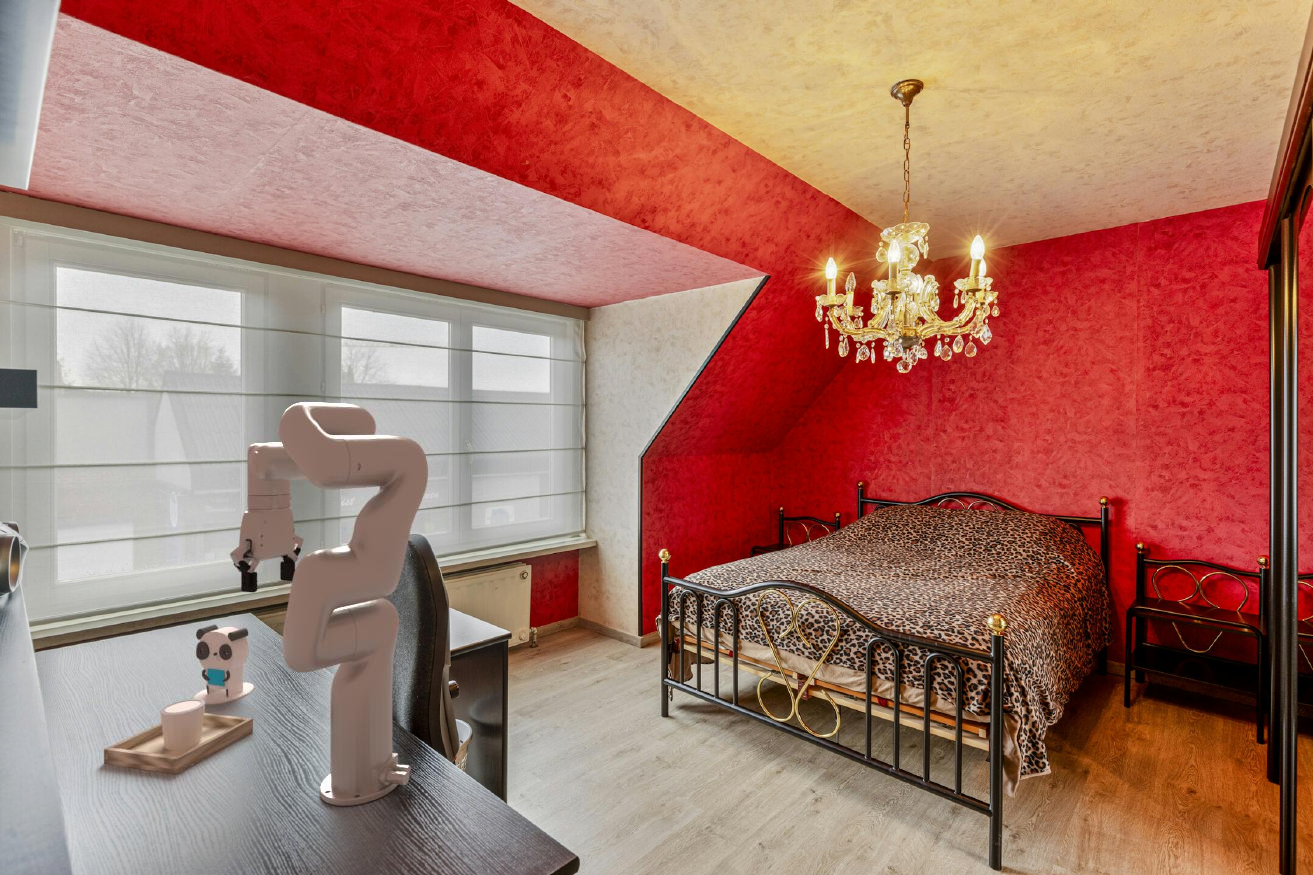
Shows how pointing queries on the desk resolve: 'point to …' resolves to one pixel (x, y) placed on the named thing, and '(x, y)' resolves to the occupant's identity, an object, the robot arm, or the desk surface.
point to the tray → (153, 756)
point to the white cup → (182, 723)
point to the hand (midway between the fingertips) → (269, 585)
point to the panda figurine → (222, 663)
